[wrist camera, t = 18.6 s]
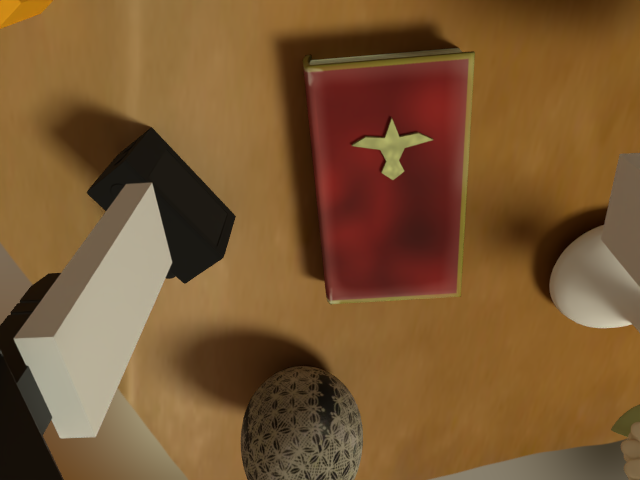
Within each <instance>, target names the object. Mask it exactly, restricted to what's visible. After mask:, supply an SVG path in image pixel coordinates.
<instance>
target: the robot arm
mask: <svg viewBox="0 0 640 480" xmlns="http://www.w3.org/2000/svg"><path fill="white" fill-rule="evenodd" d="M601 240H602V242H603V243H604V244H605V245H606V247H607V248H608V249H609V250H610V251H611V253H612V254H613V255H614V256H615V258H616V259H617V260H618V261H619V262H620V264H621V265H622V266H623V267H624V269H625V270H626V271H627V272H628V273H629V275H630V276H631V277H632V278H633V280H634V281H635V282H636V283H637V285H638V286H639V287H640V153H631V154H620V156H619V160H618V165H617V169H616V174H615V178H614V183H613V187H612V192H611V196H610V201H609V205H608V210H607V214H606V219H605V223H604V228H603V232H602V237H601ZM171 264H172V260H171V256H170V252H169V248H168V244H167V240H166V236H165V232H164V228H163V224H162V220H161V216H160V212H159V208H158V204H157V200H156V196H155V192H154V188H153V184H152V183H136V184H126V185H125V186H124V188H123V189H122V190H121V192H120V193H119V194H118V196H117V197H116V199H115V200H114V201H113V203H112V204H111V205H110V207H109V208H108V210H107V211H106V212H105V214H104V215H103V216H102V218H101V219H100V220H99V222H98V223H97V225H96V226H95V227H94V229H93V230H92V231H91V233H90V234H89V236H88V237H87V238H86V240H85V241H84V242H83V244H82V245H81V247H80V248H79V249H78V251H77V252H76V253H75V255H74V256H73V258H72V259H71V260H70V262H69V263H68V264H67V266H66V267H65V269H64V270H63V271H62V273H51V274H48V275H46V276H45V277H43V278H42V279H41V280H39V281H38V282H36V283H35V284H34V285H32V286H31V287H30V288H29V289H28V291H27V292H26V293H25V295H24V296H23V297H22V298H21V300H20V303H18V304H17V305H16V306H15V307H14V309H13V310H12V311H11V315H8V316H7V318H6V319H5V320H4V322H3V323H2V324H1V325H0V480H64V479H63V477H62V475H61V473H60V471H59V469H58V467H57V465H56V463H55V461H54V458H53V456H52V454H51V452H50V450H49V448H48V446H47V444H46V442H45V440H44V438H43V434H44V432H45V430H46V428H47V426H48V424H49V423H50V421H51V420H52V422H53V424H54V426H55V428H56V430H57V432H58V434H59V437H60V438H82V437H96V435H97V433H98V431H99V428H100V426H101V424H102V422H103V419H104V417H105V415H106V412H107V410H108V408H109V405H110V403H111V401H112V399H113V396H114V394H115V392H116V390H117V387H118V385H119V383H120V381H121V378H122V376H123V374H124V371H125V369H126V367H127V365H128V362H129V360H130V358H131V355H132V353H133V351H134V349H135V346H136V344H137V342H138V339H139V337H140V335H141V333H142V330H143V328H144V326H145V323H146V321H147V319H148V317H149V314H150V312H151V310H152V308H153V305H154V303H155V301H156V298H157V296H158V294H159V292H160V289H161V287H162V285H163V282H164V280H165V278H166V276H167V273H168V271H169V269H170V266H171Z"/></svg>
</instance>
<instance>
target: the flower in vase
mask: <svg viewBox="0 0 640 480" xmlns="http://www.w3.org/2000/svg"><path fill="white" fill-rule="evenodd" d="M603 228H604V225H602V226H599V227H596V228H594V229H592V230H590V231H588V232H586V233H584V234H583V235H581V236H580V237H578V238H577V239H576V240H574V241H573V242H572V243H571V244H570V245H569V246H568V247H567V248H566V249H565V250H564V251H563V253H562V254H561V255H560V257H559V258H558V260H557V262H556V264H555V266H554V268H553V270H552V273H551V277H550V284H549V287H550V295H551V298H552V301H553V303H554V304H555V306H556V308H557V309H558V310H559V311H560V312H561V313H562V314H564V315H565V316H566V317H568V318H569V319H571V320H573V321H575V322H576V323H579V324H581V325H584V326H588V327H594V328H614V327H622V326H627V325H631V324H633V325H634V326H635V327H636V329H637V330H638V331H639V332H640V287H639V286H638V285H637V283H636V282H635V281H634V280H633V278H632V277H631V276H630V275H629V273H628V272H627V271H626V270H625V269H624V267H623V266H622V265H621V264H620V262H619V261H618V260H617V259H616V258H615V256H614V255H613V254H612V253H611V251H610V250H609V249H608V248H607V247H606V245H605V244H604V243H603V242H602V240H601V237H602V232H603ZM611 430H612V431H614V432H616V433H618V434H621V435H624V436H626V437H628V440H625V441H623V442H622V444H621V450H622V452H623V453H624V459H625V461H626V462H627V463H626V464H625V465H624V471H625V473H626V474H627V475H628V479H629V480H640V405H637V406H635V407H633V408H631V409H630V410H628V411H627V412H626V413H625V414H623V415H622V416H621V417H620V418H619V419H618V420H617V422H616V423H615V424H614V426H613V427H612V429H611Z"/></svg>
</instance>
